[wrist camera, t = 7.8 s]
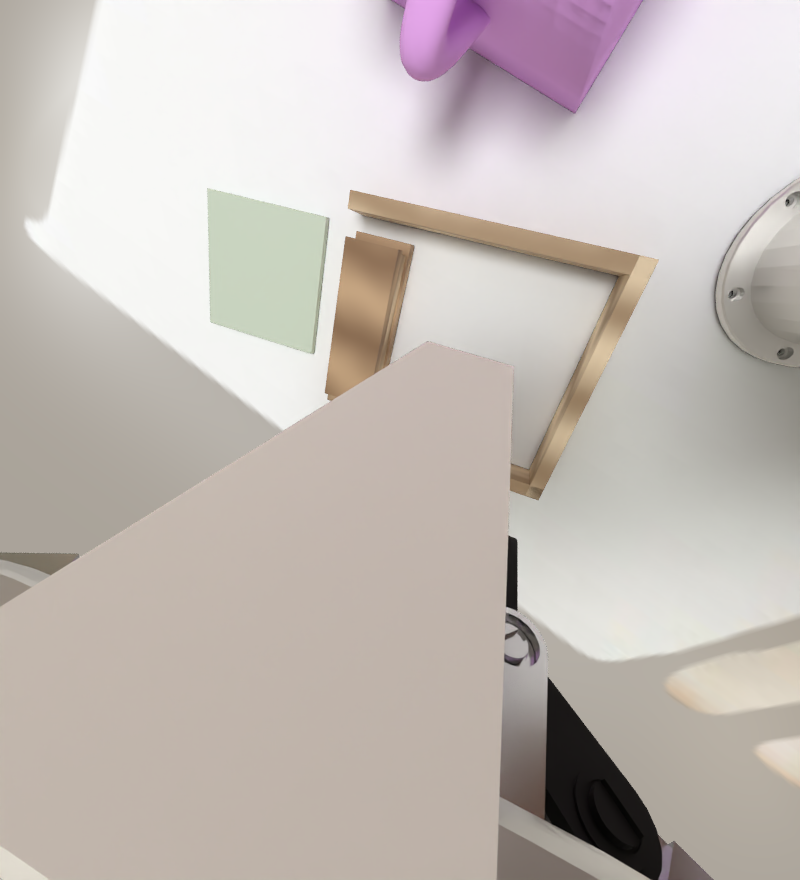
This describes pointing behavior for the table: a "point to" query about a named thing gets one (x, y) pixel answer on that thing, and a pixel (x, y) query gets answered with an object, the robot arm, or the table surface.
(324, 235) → the mat
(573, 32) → the teapot
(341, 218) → the table surface
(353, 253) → the offcut stack
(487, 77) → the table surface
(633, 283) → the frame
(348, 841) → the cream rectangular block
